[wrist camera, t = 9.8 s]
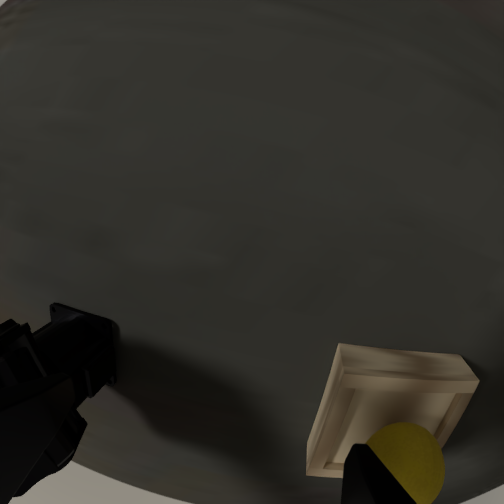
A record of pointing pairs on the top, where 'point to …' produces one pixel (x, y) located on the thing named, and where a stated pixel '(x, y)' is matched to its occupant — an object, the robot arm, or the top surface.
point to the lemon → (411, 459)
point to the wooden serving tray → (385, 400)
